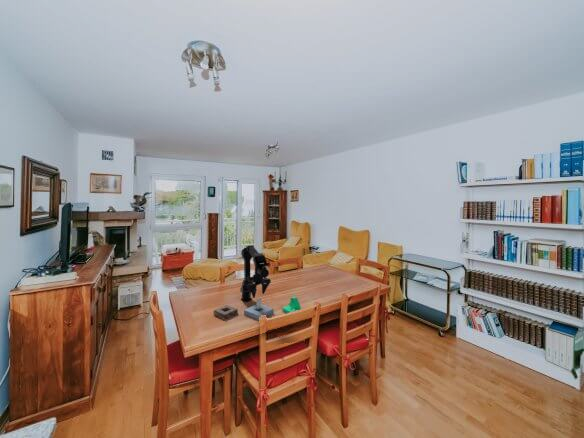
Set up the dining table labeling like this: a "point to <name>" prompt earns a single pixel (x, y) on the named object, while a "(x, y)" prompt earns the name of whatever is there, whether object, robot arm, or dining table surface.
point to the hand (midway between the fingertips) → (258, 295)
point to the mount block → (225, 311)
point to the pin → (259, 304)
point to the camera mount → (292, 305)
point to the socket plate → (256, 314)
